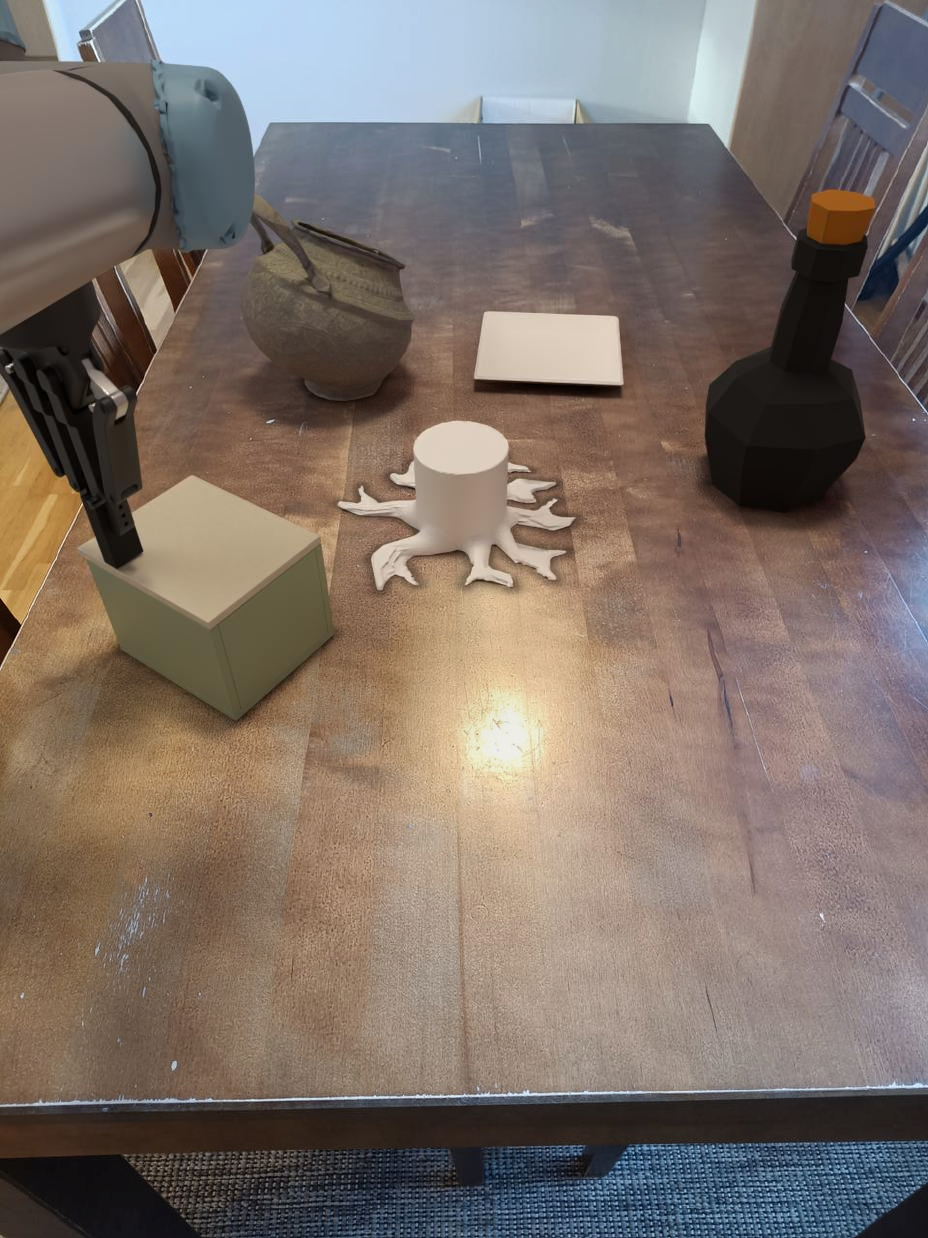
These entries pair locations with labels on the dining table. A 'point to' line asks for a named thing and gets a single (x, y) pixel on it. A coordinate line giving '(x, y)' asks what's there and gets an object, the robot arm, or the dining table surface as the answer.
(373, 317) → the pot
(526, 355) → the plate
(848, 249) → the bottle
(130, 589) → the box
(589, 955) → the dining table surface
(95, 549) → the lid
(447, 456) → the white tree stump
